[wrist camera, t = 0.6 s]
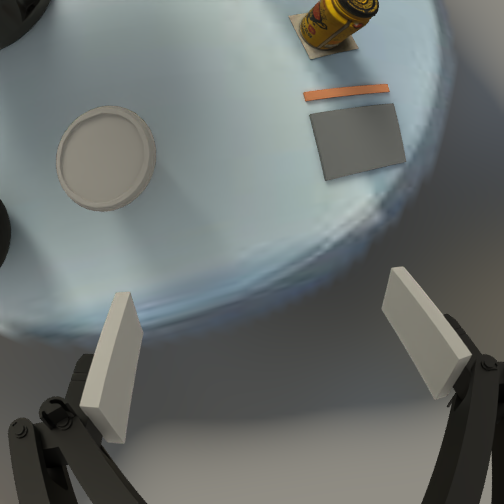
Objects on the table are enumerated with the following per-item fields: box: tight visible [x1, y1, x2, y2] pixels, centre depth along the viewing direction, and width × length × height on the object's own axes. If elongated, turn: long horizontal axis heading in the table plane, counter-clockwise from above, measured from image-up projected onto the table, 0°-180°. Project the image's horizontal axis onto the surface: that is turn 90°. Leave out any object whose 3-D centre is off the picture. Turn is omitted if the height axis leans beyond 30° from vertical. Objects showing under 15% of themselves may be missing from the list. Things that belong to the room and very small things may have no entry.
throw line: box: [303, 84, 390, 101], centre depth 39 cm, size 1×14×1 cm, turn 105°
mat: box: [309, 103, 406, 181], centre depth 41 cm, size 9×14×1 cm, turn 105°
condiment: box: [289, 0, 379, 59], centre depth 31 cm, size 7×8×12 cm
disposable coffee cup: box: [56, 106, 156, 212], centre depth 30 cm, size 10×10×12 cm
